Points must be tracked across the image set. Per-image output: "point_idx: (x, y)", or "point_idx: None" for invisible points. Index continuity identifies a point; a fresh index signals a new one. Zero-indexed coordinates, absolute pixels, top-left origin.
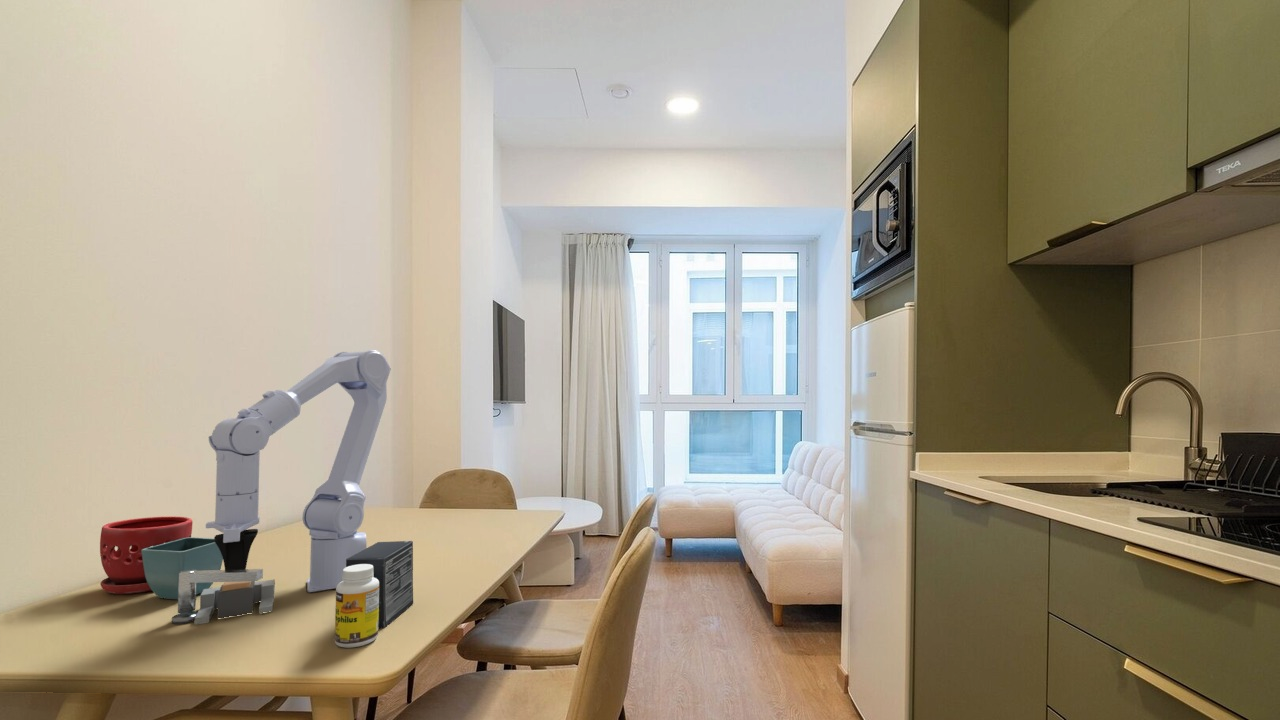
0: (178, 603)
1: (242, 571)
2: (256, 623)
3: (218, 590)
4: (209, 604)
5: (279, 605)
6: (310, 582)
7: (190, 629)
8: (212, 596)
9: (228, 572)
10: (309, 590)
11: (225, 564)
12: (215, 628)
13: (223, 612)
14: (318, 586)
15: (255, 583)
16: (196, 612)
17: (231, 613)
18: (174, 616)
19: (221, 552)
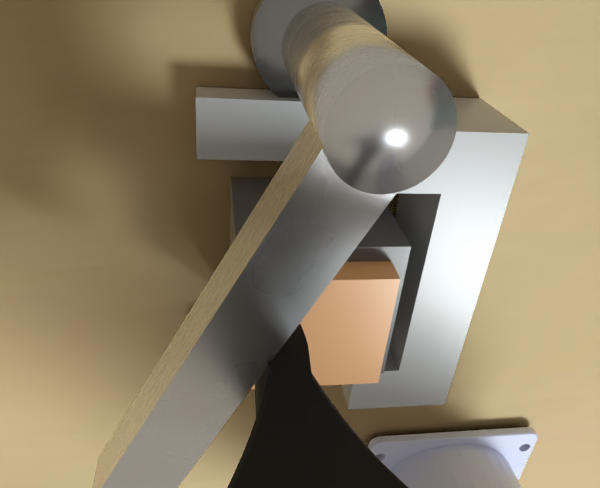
0: (319, 16)
1: (153, 447)
2: (74, 318)
3: (438, 207)
4: None
5: None
6: (443, 454)
7: (128, 73)
8: None
9: (172, 387)
10: (371, 446)
11: (263, 396)
12: (84, 180)
13: (231, 211)
14: (393, 467)
15: (435, 346)
16: None
17: (230, 235)
18: None
19: (232, 479)
